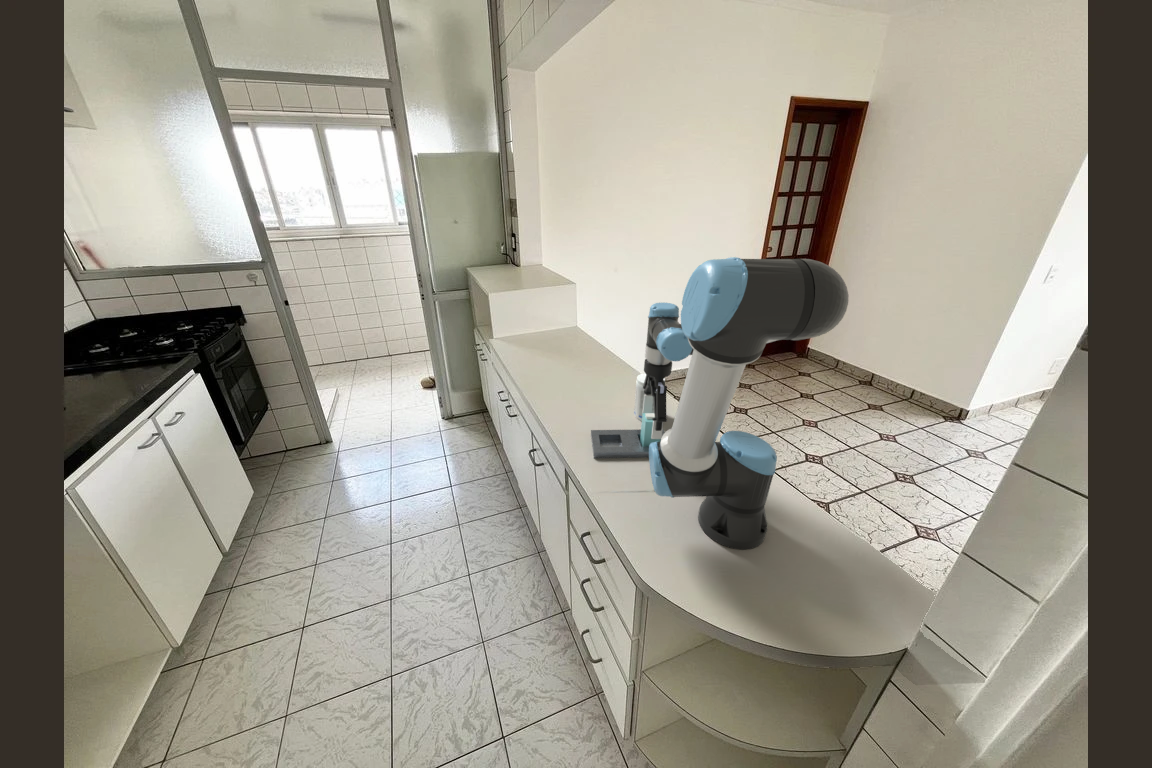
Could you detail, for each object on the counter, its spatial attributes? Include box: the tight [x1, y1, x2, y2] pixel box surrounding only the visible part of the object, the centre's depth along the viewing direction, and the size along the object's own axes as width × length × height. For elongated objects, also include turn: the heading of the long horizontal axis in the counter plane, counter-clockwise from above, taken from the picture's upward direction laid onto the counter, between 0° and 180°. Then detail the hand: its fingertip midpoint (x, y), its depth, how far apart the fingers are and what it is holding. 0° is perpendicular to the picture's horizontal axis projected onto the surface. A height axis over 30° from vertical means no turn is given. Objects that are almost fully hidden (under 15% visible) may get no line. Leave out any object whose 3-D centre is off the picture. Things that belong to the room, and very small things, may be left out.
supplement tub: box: [633, 372, 666, 422], centre depth 138 cm, size 10×10×15 cm
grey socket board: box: [590, 428, 666, 459], centre depth 124 cm, size 12×23×2 cm, turn 92°
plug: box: [640, 413, 661, 447], centre depth 123 cm, size 5×5×11 cm
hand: (651, 425), depth 122 cm, fingers open, 13 cm apart
